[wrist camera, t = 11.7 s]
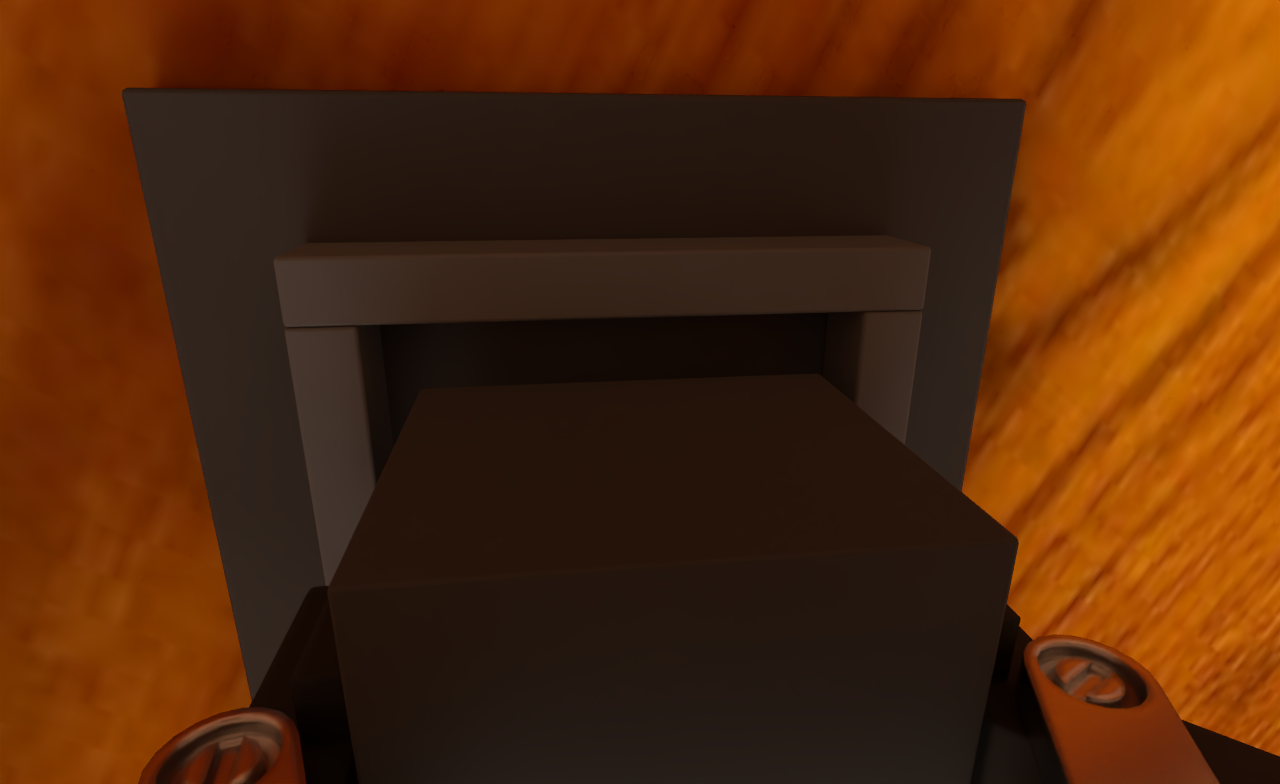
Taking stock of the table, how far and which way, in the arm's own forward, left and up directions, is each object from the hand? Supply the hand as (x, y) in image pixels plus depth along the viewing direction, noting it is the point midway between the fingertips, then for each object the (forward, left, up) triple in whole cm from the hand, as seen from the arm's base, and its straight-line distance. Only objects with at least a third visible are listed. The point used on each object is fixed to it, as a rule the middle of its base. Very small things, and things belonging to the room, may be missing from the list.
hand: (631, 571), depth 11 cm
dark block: (0, 0, -1) cm, 1 cm away
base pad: (0, 0, -3) cm, 3 cm away
